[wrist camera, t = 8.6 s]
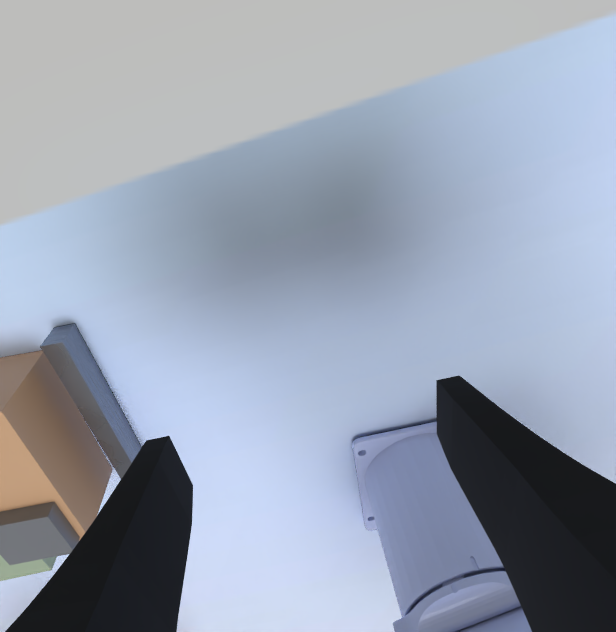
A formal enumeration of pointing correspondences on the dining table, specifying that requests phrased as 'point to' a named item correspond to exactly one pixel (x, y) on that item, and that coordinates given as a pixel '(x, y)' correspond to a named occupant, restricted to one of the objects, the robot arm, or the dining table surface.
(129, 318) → the dining table surface
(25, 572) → the deck
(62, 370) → the pair of grey bars
